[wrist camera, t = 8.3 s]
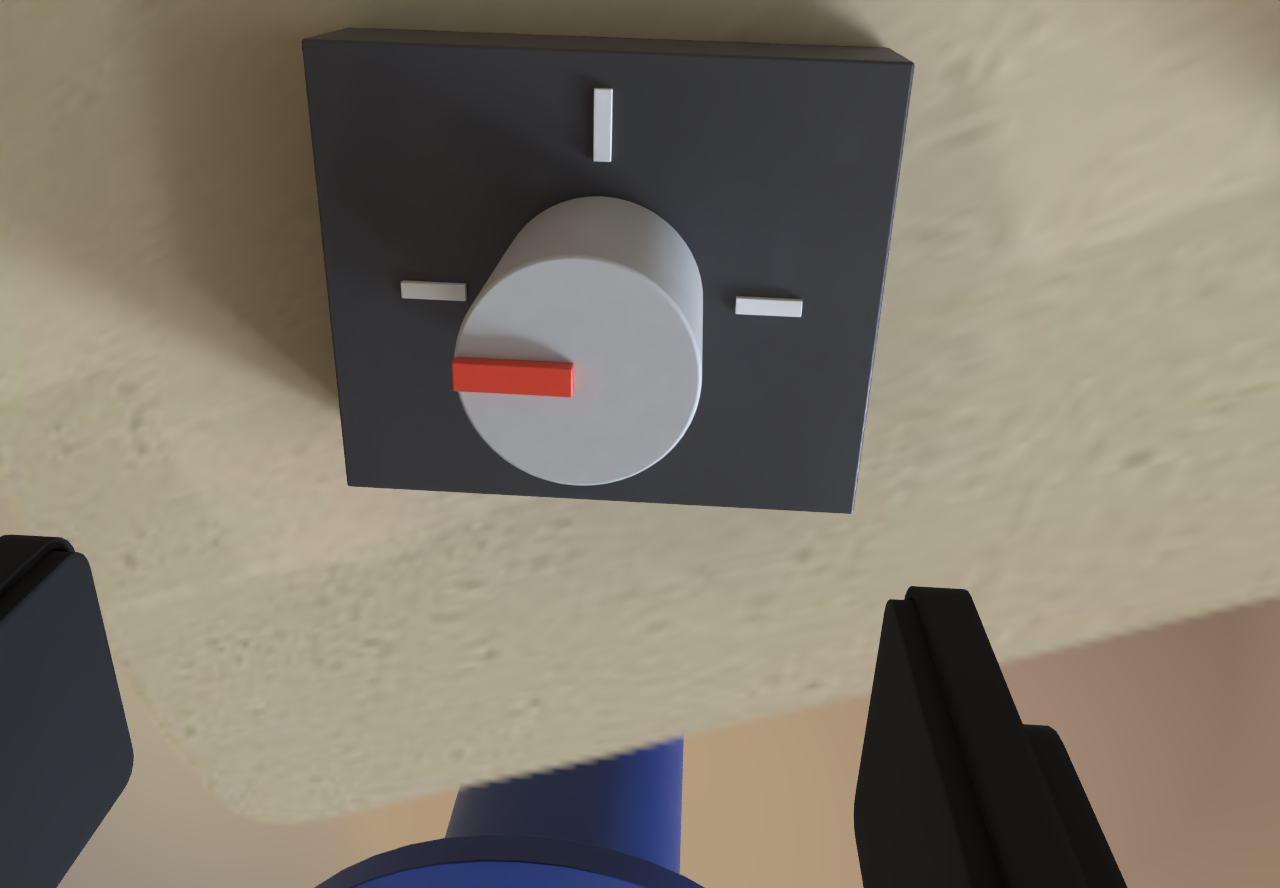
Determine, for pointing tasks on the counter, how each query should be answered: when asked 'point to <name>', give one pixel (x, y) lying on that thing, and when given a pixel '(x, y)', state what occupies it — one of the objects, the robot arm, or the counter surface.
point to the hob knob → (585, 344)
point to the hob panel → (629, 170)
